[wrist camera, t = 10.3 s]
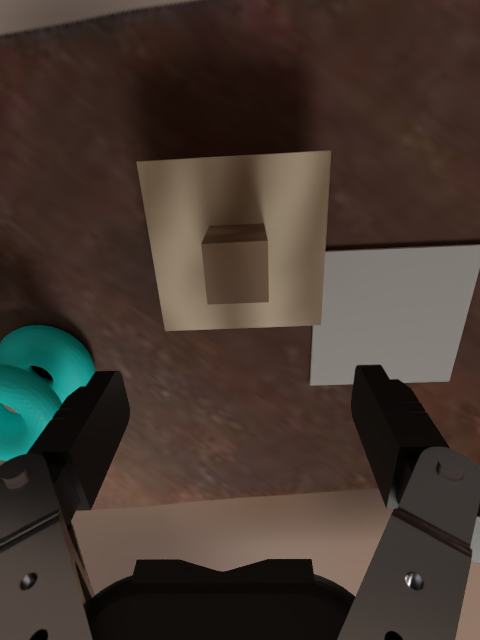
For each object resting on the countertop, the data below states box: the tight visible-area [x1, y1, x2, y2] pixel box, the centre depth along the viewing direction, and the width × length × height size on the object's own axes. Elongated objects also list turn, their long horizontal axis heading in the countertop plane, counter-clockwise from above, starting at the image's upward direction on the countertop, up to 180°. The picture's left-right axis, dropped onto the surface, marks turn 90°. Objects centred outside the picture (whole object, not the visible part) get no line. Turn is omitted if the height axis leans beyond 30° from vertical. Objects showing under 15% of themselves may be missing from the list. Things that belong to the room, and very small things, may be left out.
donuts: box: [0, 325, 95, 461], centre depth 34 cm, size 10×10×10 cm
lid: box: [137, 150, 331, 331], centre depth 25 cm, size 13×13×6 cm
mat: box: [310, 244, 480, 385], centre depth 35 cm, size 15×15×1 cm
